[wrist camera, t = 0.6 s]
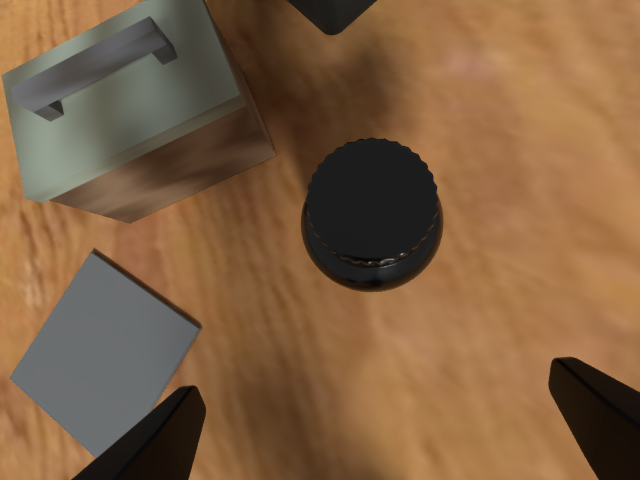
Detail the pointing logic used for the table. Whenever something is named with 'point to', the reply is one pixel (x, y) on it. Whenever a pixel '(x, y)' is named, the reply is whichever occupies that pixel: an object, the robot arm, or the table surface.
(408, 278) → the supplement bottle
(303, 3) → the flower pot
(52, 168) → the toolbox
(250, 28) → the table surface
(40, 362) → the mat
